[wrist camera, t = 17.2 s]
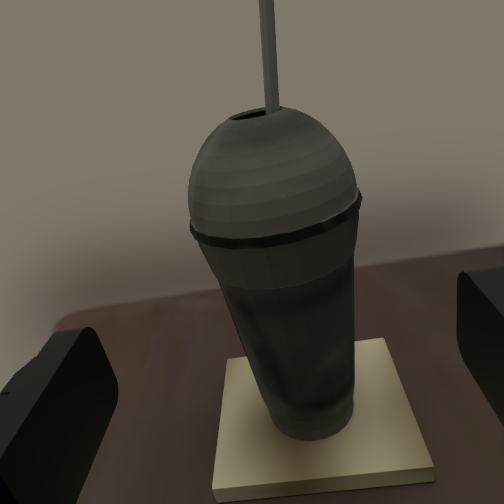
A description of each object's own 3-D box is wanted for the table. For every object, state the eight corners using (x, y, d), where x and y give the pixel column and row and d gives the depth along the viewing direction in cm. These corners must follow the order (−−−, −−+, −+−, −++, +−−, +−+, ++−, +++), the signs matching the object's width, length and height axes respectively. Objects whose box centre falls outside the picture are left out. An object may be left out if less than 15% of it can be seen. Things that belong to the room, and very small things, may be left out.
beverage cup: (254, 362, 27) (164, 5, 18) (373, 356, 25) (336, -39, 17) (233, 466, 21) (80, -7, 12) (390, 466, 19) (344, -79, 10)
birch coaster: (384, 350, 27) (383, 337, 27) (434, 481, 19) (434, 466, 19) (230, 370, 28) (227, 359, 28) (216, 502, 20) (211, 489, 20)
